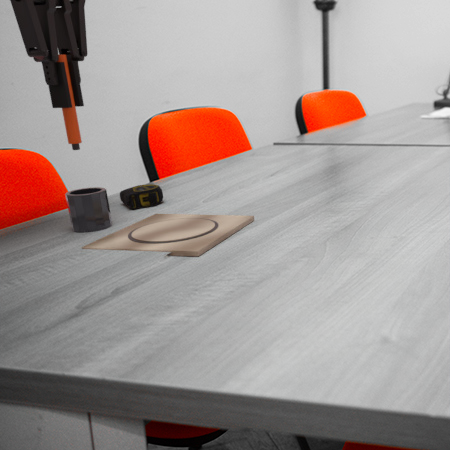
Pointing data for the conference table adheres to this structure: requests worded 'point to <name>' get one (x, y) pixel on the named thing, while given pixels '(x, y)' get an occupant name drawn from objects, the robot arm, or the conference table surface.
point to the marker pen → (71, 113)
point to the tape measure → (142, 196)
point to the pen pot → (88, 209)
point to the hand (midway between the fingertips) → (68, 106)
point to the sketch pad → (173, 234)
